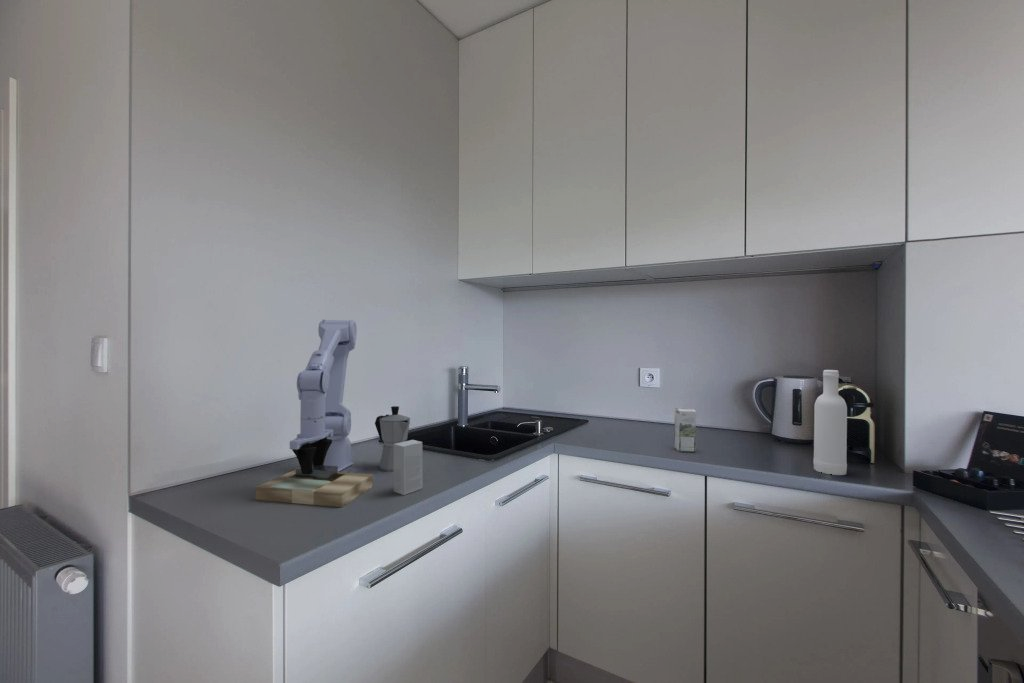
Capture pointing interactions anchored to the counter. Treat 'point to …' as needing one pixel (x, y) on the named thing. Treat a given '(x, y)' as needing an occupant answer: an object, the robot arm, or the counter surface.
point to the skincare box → (408, 467)
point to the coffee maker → (391, 435)
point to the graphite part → (319, 472)
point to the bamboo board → (315, 489)
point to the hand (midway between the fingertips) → (312, 471)
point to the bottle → (830, 428)
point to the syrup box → (685, 430)
